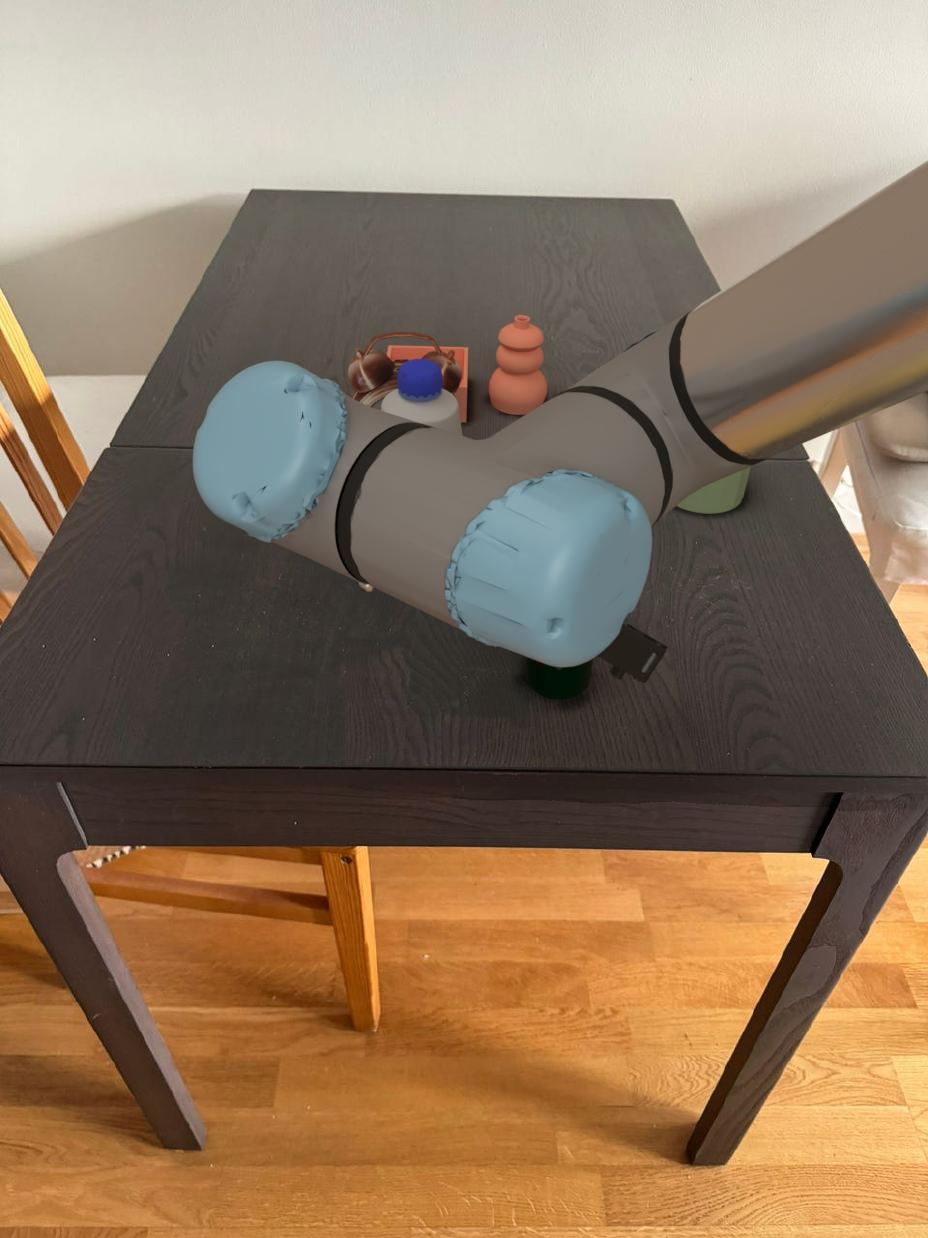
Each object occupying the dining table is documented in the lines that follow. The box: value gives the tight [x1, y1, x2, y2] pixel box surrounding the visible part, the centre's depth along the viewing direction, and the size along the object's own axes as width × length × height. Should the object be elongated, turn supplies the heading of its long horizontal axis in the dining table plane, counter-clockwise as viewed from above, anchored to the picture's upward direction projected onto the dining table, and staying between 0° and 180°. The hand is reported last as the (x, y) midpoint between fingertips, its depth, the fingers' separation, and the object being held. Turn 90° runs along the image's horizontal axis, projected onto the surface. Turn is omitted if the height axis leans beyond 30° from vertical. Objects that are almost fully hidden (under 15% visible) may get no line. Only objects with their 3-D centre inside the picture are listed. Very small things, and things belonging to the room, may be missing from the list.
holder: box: [676, 466, 753, 515], centre depth 91 cm, size 8×8×5 cm
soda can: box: [524, 656, 594, 701], centre depth 68 cm, size 5×5×12 cm
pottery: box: [386, 314, 548, 423], centre depth 101 cm, size 18×10×10 cm, turn 89°
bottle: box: [381, 359, 464, 436], centre depth 75 cm, size 7×7×20 cm
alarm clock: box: [347, 331, 462, 410], centre depth 89 cm, size 11×5×15 cm, turn 94°
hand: (583, 615), depth 70 cm, fingers open, 12 cm apart
